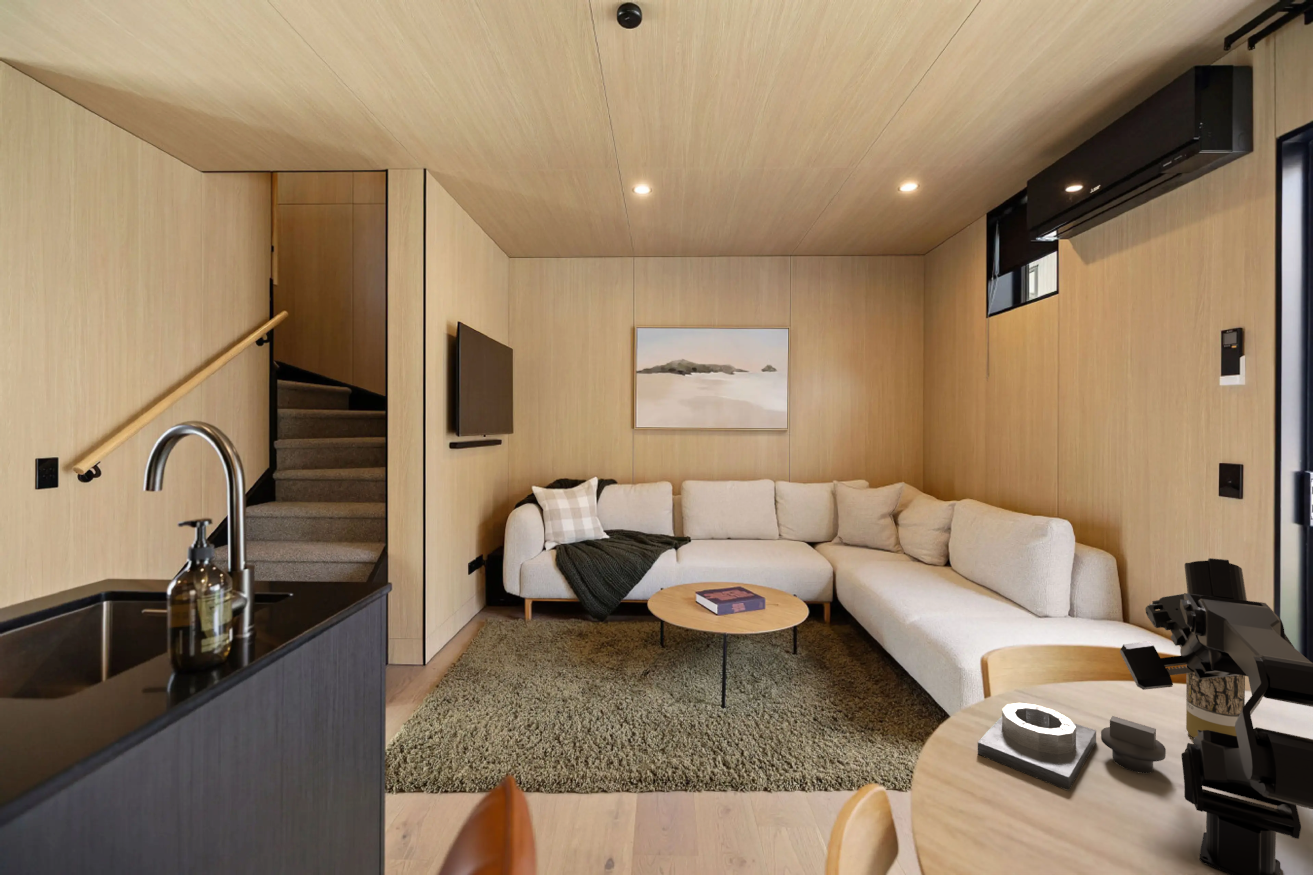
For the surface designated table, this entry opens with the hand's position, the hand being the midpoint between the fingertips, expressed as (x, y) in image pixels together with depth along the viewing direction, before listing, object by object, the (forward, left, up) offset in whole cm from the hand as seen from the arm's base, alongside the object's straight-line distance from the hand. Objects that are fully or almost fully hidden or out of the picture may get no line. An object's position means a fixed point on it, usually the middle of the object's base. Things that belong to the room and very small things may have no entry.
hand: (1194, 670), depth 86 cm
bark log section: (+10, -2, -15) cm, 18 cm away
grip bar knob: (-8, +6, -14) cm, 18 cm away
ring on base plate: (-14, +17, -14) cm, 26 cm away
